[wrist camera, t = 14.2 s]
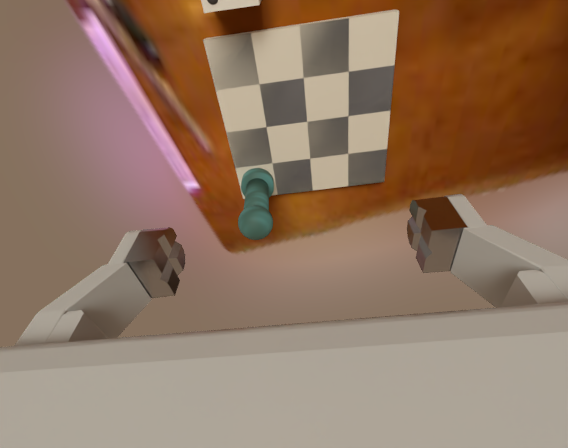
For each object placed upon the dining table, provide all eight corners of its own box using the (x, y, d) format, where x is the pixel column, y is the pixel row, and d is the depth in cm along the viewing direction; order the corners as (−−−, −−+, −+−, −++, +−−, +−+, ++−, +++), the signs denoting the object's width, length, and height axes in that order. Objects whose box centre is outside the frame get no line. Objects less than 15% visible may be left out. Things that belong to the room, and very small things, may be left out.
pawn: (271, 166, 42) (272, 215, 33) (275, 193, 45) (277, 246, 36) (238, 170, 42) (231, 220, 33) (245, 197, 45) (239, 250, 36)
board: (395, 9, 32) (399, 10, 31) (381, 177, 45) (384, 181, 44) (205, 38, 33) (203, 40, 32) (243, 194, 46) (243, 198, 45)
